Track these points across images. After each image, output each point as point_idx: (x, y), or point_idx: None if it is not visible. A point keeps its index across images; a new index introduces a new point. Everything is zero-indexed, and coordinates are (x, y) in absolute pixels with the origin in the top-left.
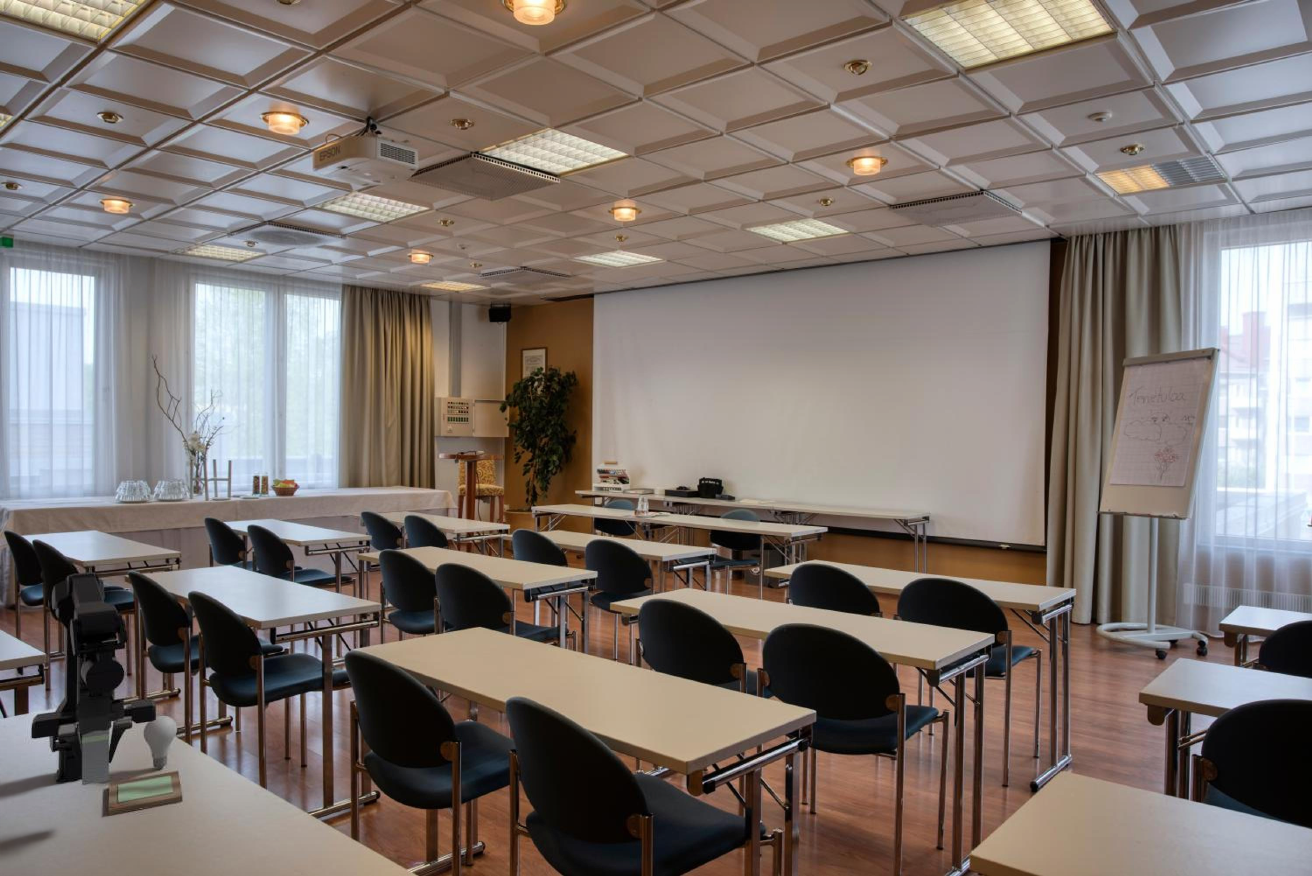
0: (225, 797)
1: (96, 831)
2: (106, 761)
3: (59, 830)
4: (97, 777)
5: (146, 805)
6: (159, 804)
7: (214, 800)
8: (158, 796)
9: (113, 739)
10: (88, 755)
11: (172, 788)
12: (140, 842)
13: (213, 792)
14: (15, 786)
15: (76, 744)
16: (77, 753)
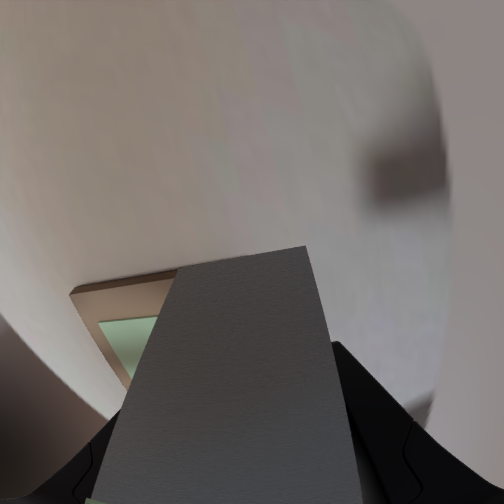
0: (8, 275)
1: (238, 155)
2: (159, 342)
3: (350, 202)
4: (227, 273)
5: (139, 280)
6: (114, 282)
7: (18, 267)
8: (123, 314)
9: (88, 489)
10: (284, 388)
11: (111, 345)
12: (94, 49)
13: (39, 309)
14: (423, 420)
15: (414, 489)
16: (381, 415)
